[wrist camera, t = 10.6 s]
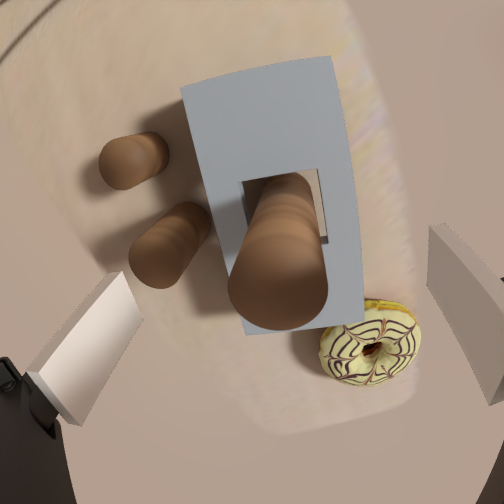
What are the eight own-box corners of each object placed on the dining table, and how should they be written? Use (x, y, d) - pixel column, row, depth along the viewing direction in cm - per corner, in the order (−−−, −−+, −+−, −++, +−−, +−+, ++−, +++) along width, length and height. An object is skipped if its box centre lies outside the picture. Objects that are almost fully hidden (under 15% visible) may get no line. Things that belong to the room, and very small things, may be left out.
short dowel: (124, 139, 26) (93, 147, 21) (162, 126, 25) (135, 131, 20) (135, 180, 27) (107, 195, 23) (174, 170, 26) (149, 183, 22)
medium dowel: (162, 206, 28) (121, 241, 21) (203, 198, 27) (171, 231, 20) (175, 246, 29) (140, 291, 22) (215, 240, 29) (188, 285, 21)
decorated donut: (312, 368, 34) (313, 393, 31) (324, 289, 30) (327, 312, 26) (398, 369, 33) (404, 392, 30) (423, 292, 28) (436, 314, 25)
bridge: (201, 91, 23) (180, 87, 19) (323, 66, 21) (330, 55, 17) (253, 303, 31) (245, 335, 26) (356, 289, 29) (364, 321, 24)
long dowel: (259, 175, 26) (216, 252, 12) (307, 167, 25) (322, 237, 11) (268, 221, 27) (240, 334, 14) (315, 213, 26) (332, 325, 13)
